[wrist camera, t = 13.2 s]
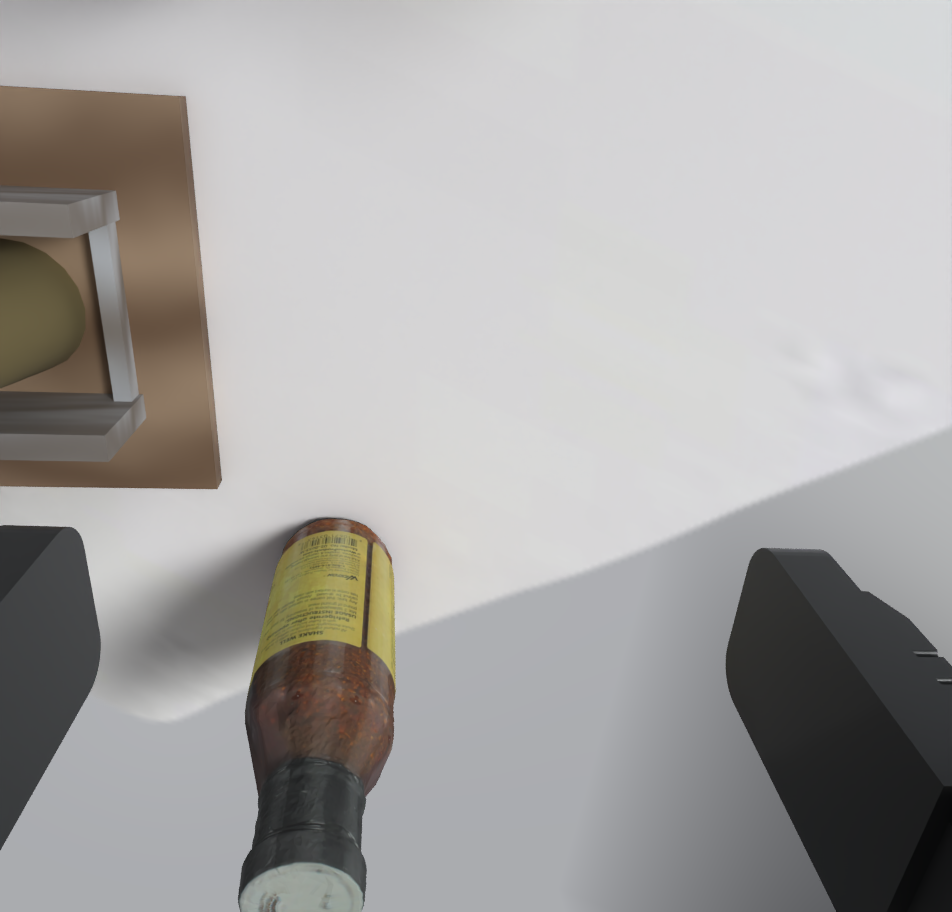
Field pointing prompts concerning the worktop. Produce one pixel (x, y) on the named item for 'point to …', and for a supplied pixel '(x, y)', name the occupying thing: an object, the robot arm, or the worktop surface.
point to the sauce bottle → (319, 718)
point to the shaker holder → (110, 293)
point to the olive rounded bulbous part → (35, 312)
